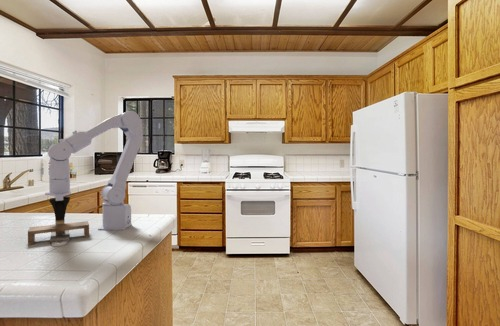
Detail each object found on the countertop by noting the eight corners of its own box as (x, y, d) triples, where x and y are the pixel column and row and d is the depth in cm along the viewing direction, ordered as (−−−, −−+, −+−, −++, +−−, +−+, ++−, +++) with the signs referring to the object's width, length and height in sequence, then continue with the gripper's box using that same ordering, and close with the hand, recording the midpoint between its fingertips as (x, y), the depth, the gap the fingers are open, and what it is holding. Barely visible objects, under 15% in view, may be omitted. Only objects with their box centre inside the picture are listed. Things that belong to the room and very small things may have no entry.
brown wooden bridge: (87, 232, 99) (87, 221, 99) (89, 236, 94) (89, 224, 94) (30, 239, 90) (29, 227, 90) (27, 244, 85) (27, 231, 85)
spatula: (51, 234, 96) (51, 208, 96) (68, 232, 99) (68, 207, 99) (49, 243, 86) (49, 215, 86) (69, 241, 89) (68, 213, 89)
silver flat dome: (69, 243, 88) (69, 240, 88) (63, 247, 84) (63, 244, 84) (55, 243, 88) (55, 240, 87) (48, 247, 84) (48, 244, 84)
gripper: (46, 177, 99) (46, 216, 100) (43, 181, 87) (44, 225, 88) (70, 177, 103) (70, 214, 104) (70, 180, 91) (71, 222, 91)
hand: (60, 219), depth 96 cm, fingers closed on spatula
